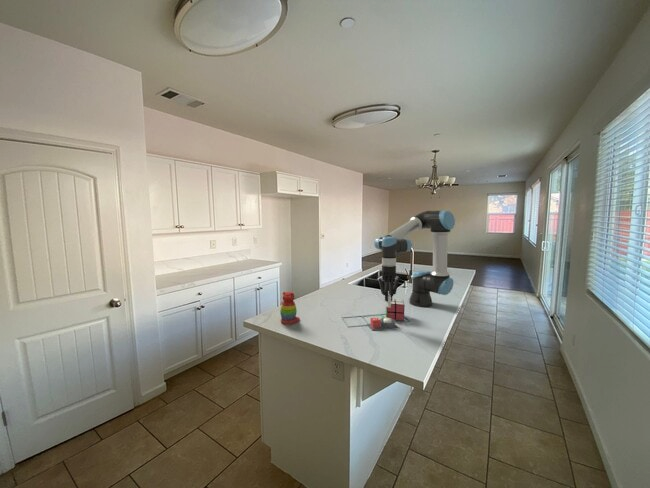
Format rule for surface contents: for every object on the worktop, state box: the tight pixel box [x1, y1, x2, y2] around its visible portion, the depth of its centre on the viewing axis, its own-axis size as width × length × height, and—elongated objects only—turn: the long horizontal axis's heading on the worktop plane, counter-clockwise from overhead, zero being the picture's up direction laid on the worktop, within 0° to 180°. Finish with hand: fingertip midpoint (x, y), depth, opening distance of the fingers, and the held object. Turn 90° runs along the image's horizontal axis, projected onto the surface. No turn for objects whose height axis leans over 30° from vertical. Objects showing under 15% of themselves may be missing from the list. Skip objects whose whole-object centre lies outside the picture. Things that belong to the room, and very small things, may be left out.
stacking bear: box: [279, 291, 301, 326], centre depth 155 cm, size 11×10×18 cm
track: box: [341, 313, 411, 328], centre depth 158 cm, size 38×14×1 cm, turn 102°
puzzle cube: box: [385, 298, 406, 322], centre depth 160 cm, size 10×10×10 cm
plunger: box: [383, 317, 392, 323], centre depth 149 cm, size 5×5×3 cm
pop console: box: [366, 316, 399, 331], centre depth 148 cm, size 15×8×5 cm, turn 102°
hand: (388, 306), depth 148 cm, fingers closed
